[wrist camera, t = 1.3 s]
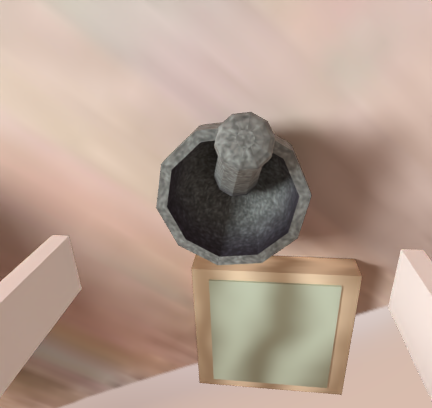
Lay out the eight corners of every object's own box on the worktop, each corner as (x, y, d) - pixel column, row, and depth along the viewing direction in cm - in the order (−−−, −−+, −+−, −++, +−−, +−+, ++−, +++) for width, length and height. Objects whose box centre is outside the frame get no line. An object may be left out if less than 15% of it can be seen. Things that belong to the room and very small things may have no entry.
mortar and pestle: (279, 231, 30) (289, 336, 19) (174, 208, 30) (125, 300, 20) (318, 98, 25) (361, 140, 14) (192, 73, 25) (141, 96, 15)
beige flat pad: (203, 362, 38) (199, 384, 35) (196, 253, 32) (190, 270, 29) (336, 372, 36) (341, 396, 34) (354, 258, 30) (362, 277, 28)
